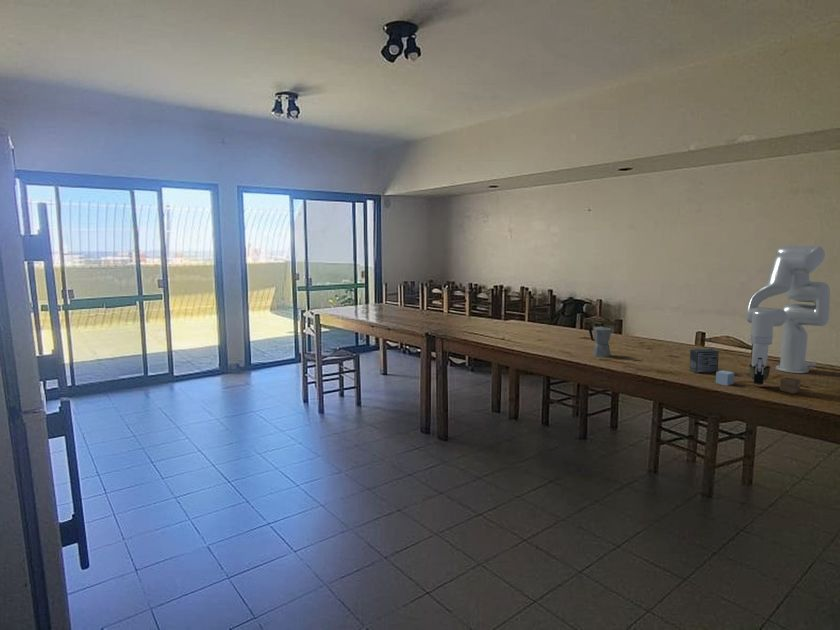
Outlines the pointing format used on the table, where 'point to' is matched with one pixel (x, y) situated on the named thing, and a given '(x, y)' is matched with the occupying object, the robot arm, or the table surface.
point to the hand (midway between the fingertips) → (758, 380)
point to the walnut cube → (790, 385)
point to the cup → (765, 372)
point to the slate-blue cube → (725, 377)
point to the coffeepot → (601, 340)
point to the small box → (704, 360)
